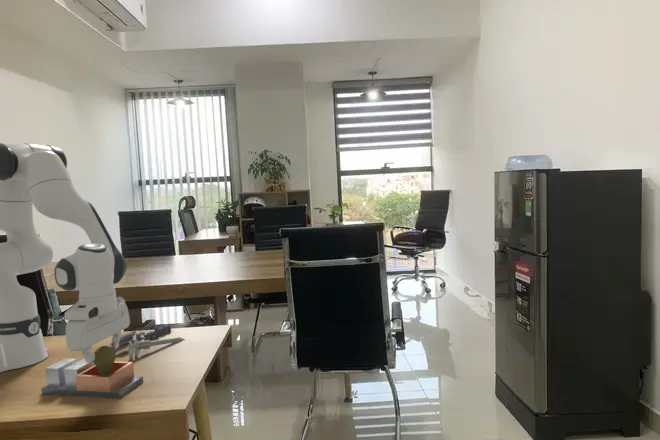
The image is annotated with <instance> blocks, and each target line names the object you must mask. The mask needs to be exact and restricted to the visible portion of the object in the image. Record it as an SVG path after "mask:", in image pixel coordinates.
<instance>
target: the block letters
mask: <svg viewBox="0 0 660 440" xmlns="http://www.w3.org/2000/svg"><path fill="white" fill-rule="evenodd" d="M153 328H154V329H153V330H150V331H149V332H146V333H145V332H144V331H140V332H138V333H137V331H136V330H131V331H130V332H128V333H126V334H121V336H120V339H119V347H118V348H116V349H114V351H115V353H116V354H117V352H119V351H122V350H124V349H126V348H129V343H131V340H132V339H133V340H134V339H137V342H139V341H147V340H149V341H152V340H155V339H157V338H160V337H161V336H164V335H167V334H168V333H171V332H172V327H171V325H169V324H165V325H162V327H161V326H160V327H159V326H156V325H155V326H154V327H153ZM134 336H135V337H134Z"/></svg>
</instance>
